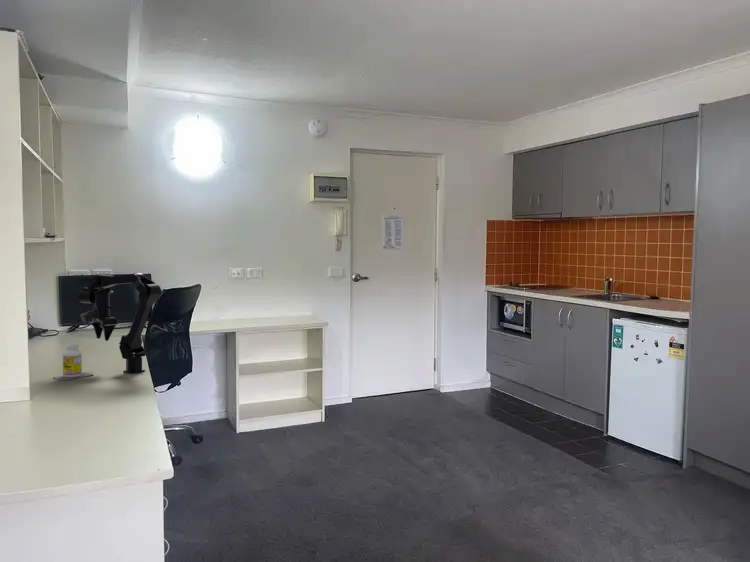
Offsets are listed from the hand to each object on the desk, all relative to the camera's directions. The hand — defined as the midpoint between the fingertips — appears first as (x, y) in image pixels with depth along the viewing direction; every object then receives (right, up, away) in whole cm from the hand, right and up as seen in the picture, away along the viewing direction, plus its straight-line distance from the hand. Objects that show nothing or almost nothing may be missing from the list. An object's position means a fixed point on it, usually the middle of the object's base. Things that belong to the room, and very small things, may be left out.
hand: (102, 339), depth 242 cm
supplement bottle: (-4, -13, -16) cm, 22 cm away
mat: (-4, -14, -16) cm, 21 cm away
